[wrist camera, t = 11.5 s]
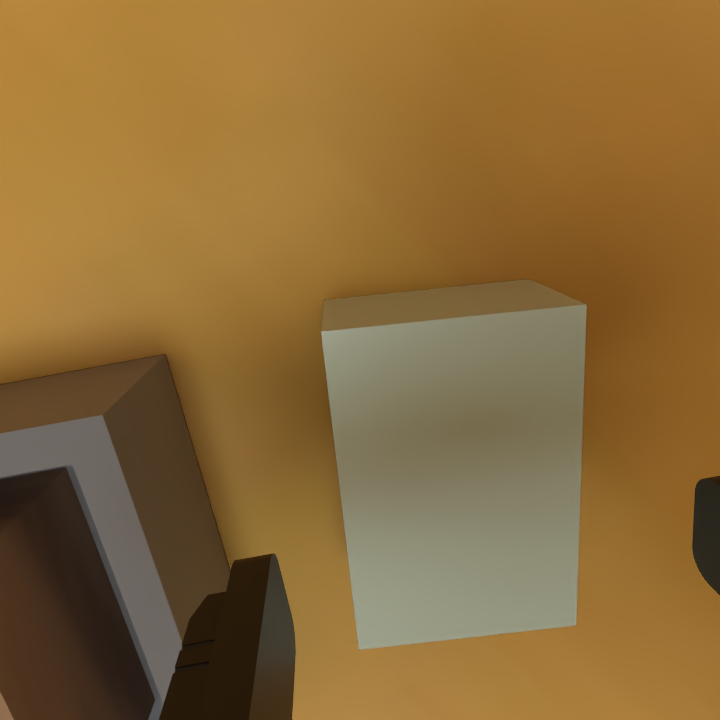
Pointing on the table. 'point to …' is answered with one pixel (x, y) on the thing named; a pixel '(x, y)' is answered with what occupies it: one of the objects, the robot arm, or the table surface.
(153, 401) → the tray
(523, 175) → the table surface
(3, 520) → the walnut block
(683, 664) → the table surface
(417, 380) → the sage carton
